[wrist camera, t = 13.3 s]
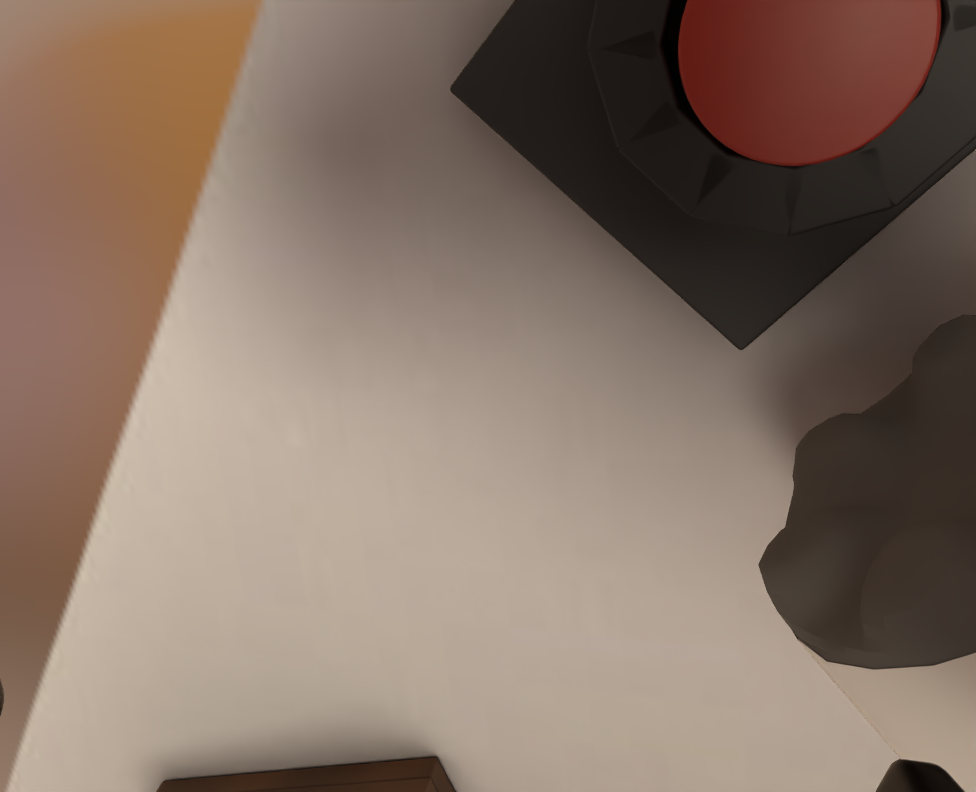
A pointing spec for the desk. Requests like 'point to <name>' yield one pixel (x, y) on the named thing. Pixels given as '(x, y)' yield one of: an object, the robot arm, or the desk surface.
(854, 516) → the cup
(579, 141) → the button block
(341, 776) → the chest
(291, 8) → the desk surface
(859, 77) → the red button
